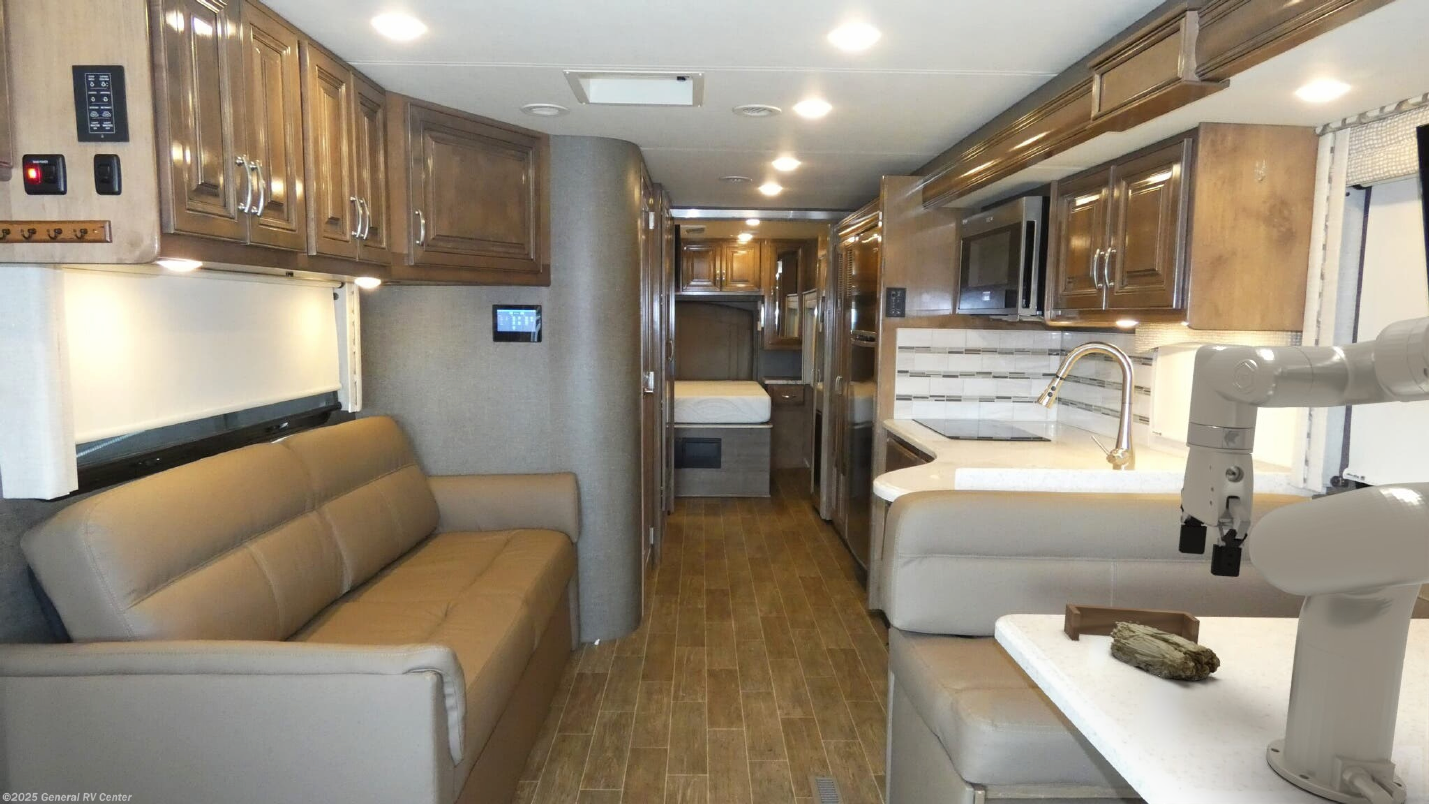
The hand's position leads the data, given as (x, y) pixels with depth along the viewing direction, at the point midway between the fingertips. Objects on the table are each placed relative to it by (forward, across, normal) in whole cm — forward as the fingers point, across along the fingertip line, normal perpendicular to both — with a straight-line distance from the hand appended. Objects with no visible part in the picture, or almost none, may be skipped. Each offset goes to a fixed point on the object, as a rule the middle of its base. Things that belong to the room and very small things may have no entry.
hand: (1207, 563), depth 109 cm
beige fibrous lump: (+19, +10, +1) cm, 22 cm away
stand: (+19, +20, +2) cm, 27 cm away
